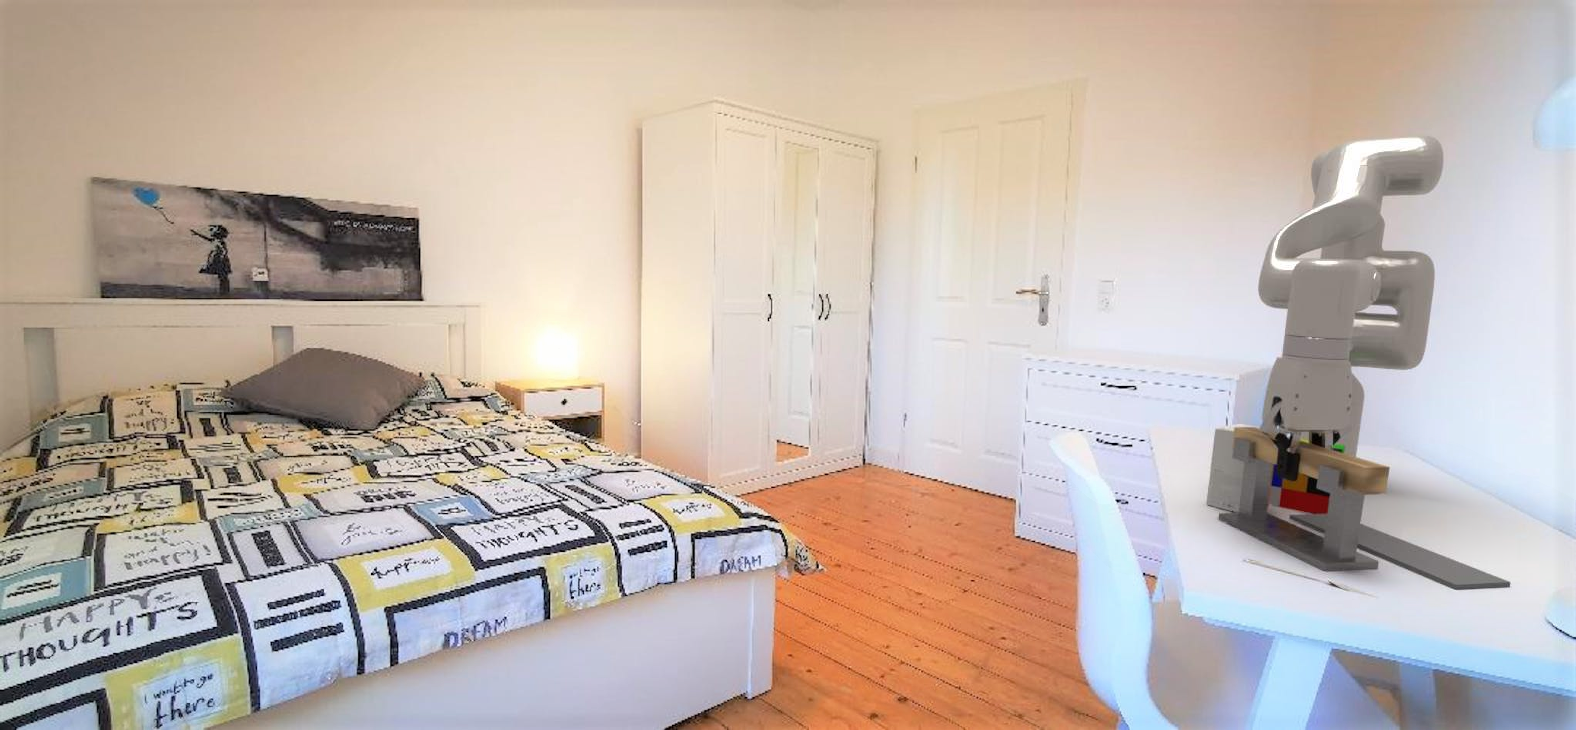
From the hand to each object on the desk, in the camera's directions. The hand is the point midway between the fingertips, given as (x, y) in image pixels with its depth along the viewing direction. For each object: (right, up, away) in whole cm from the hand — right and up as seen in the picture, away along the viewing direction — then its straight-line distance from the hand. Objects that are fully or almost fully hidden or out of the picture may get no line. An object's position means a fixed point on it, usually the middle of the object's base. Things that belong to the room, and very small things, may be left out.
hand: (1299, 476), depth 103 cm
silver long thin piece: (-5, -12, -12) cm, 18 cm away
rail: (0, +1, 0) cm, 1 cm away
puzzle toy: (+13, -8, +20) cm, 25 cm away
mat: (+12, -10, 0) cm, 16 cm away
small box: (+2, -8, +17) cm, 18 cm away
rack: (0, -10, +1) cm, 10 cm away
